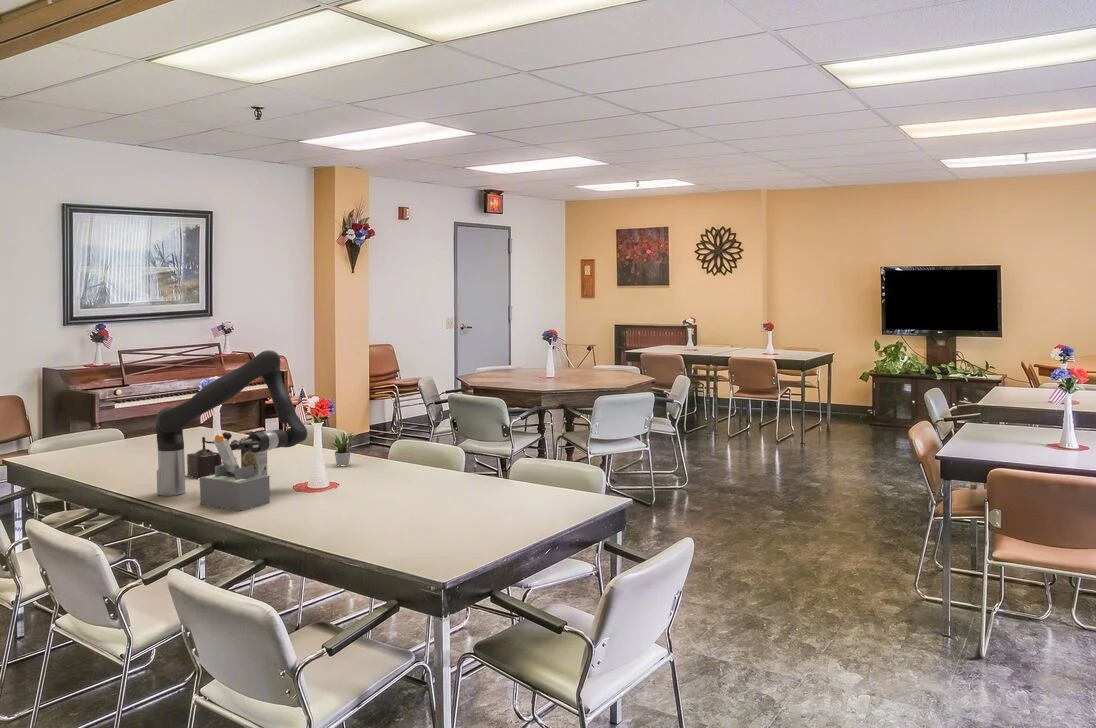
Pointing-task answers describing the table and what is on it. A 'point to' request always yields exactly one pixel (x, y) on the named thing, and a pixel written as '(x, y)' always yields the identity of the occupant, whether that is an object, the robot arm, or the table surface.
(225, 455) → the lever
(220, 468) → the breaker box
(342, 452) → the house plant
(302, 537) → the table surface
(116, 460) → the table surface
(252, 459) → the coffee box
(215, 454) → the manual coffee grinder
